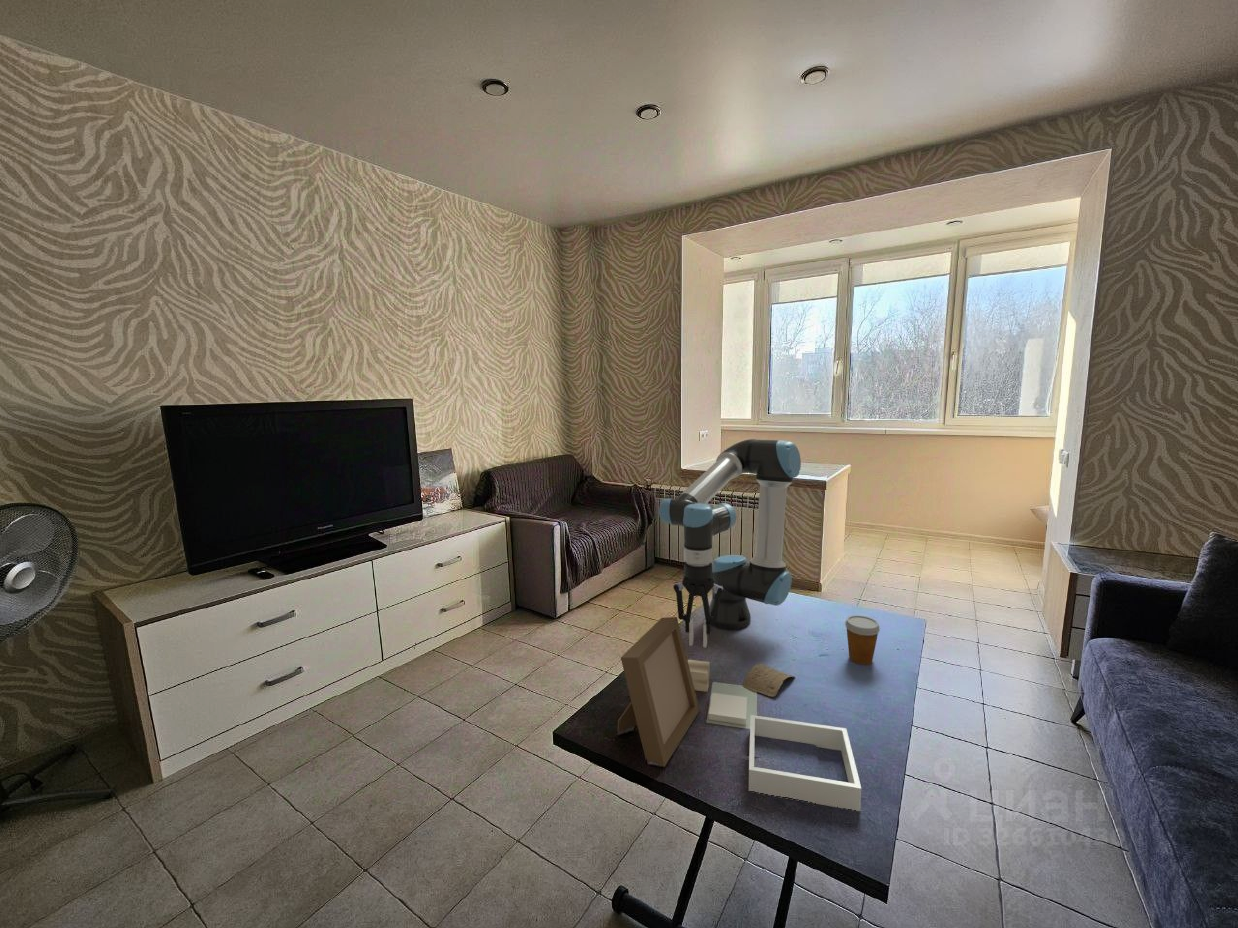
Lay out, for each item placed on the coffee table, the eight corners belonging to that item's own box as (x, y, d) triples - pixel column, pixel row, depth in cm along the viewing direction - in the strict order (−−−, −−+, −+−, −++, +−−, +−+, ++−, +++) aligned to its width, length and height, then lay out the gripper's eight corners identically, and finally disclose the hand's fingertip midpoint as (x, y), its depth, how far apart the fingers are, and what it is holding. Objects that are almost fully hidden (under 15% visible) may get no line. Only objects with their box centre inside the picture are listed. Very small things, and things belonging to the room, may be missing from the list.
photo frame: (699, 714, 129) (698, 621, 125) (664, 770, 110) (661, 663, 107) (647, 698, 136) (644, 610, 133) (605, 749, 117) (601, 648, 114)
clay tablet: (775, 699, 133) (775, 689, 133) (740, 685, 140) (740, 675, 139) (797, 678, 144) (797, 669, 144) (763, 665, 150) (764, 657, 150)
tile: (712, 692, 134) (708, 713, 125) (747, 697, 132) (746, 718, 123) (712, 698, 134) (708, 719, 126) (747, 703, 132) (746, 725, 123)
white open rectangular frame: (750, 733, 121) (750, 714, 120) (845, 748, 116) (846, 728, 115) (748, 791, 104) (748, 769, 103) (860, 811, 98) (861, 788, 98)
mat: (712, 683, 142) (712, 681, 142) (757, 689, 139) (757, 687, 139) (706, 724, 125) (706, 722, 125) (756, 732, 122) (756, 729, 122)
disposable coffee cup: (870, 671, 146) (872, 632, 144) (837, 658, 153) (839, 621, 152) (883, 659, 152) (885, 621, 151) (852, 647, 159) (853, 611, 158)
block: (688, 679, 145) (688, 659, 144) (709, 681, 143) (709, 661, 142) (685, 691, 139) (685, 670, 138) (707, 693, 138) (707, 673, 137)
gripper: (665, 564, 134) (666, 647, 138) (728, 568, 130) (727, 654, 134) (670, 555, 142) (671, 634, 145) (729, 559, 137) (729, 640, 141)
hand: (698, 643), depth 139 cm, fingers open, 3 cm apart
